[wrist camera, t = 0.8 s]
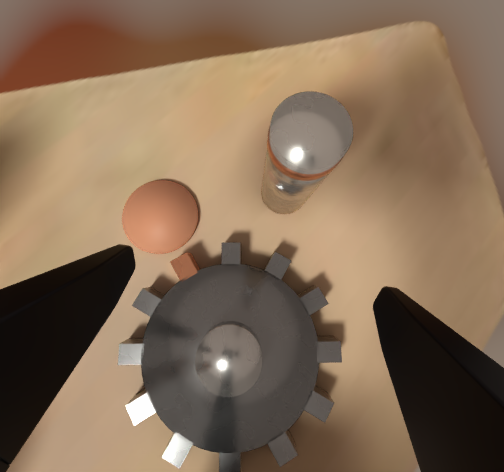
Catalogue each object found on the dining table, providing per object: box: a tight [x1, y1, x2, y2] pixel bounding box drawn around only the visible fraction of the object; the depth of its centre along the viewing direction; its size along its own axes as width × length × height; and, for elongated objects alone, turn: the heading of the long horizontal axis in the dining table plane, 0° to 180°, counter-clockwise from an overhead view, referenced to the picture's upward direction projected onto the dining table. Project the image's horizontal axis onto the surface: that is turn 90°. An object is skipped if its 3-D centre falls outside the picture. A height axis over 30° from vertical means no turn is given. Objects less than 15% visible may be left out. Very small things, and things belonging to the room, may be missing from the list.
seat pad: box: [122, 180, 198, 254], centre depth 21 cm, size 7×7×1 cm
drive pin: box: [261, 92, 353, 214], centre depth 17 cm, size 4×4×10 cm
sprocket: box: [118, 243, 342, 472], centre depth 18 cm, size 18×18×3 cm
